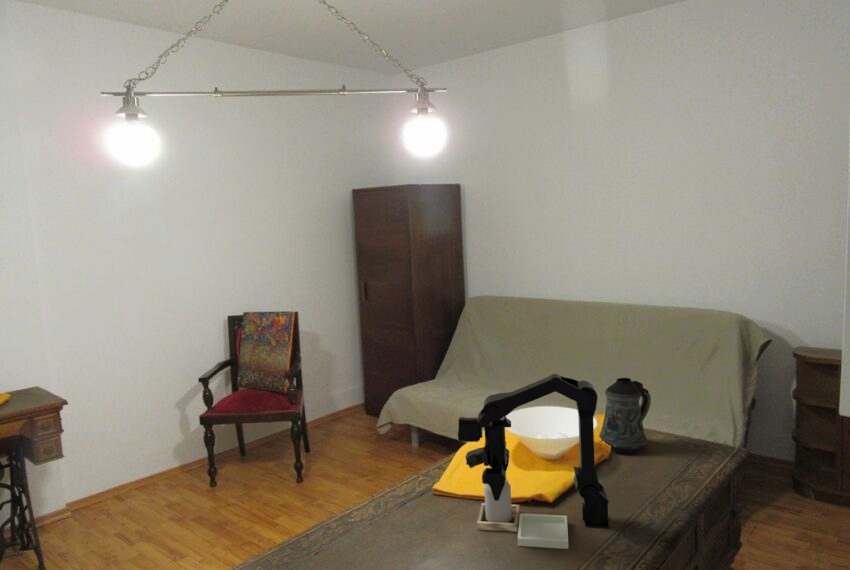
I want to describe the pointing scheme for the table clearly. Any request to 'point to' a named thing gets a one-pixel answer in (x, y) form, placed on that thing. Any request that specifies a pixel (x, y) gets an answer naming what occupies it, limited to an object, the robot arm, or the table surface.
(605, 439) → the beer stein
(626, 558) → the table surface
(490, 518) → the can
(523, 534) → the tray
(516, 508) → the holder
